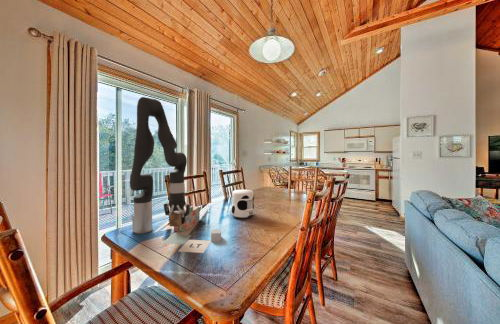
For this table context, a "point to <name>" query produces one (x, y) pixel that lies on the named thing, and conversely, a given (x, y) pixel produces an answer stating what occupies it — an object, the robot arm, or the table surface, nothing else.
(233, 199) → the milk container
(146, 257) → the table surface
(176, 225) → the walnut block
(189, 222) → the stack of blocks
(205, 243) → the tile
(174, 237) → the grey-green mat
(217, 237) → the grey block
